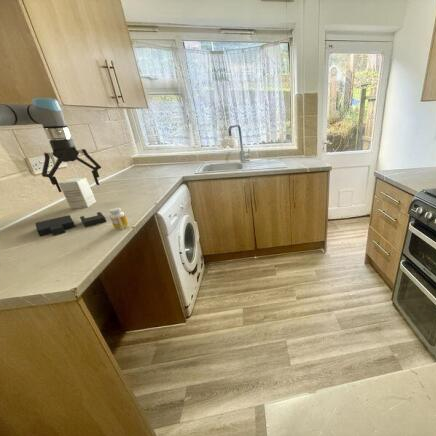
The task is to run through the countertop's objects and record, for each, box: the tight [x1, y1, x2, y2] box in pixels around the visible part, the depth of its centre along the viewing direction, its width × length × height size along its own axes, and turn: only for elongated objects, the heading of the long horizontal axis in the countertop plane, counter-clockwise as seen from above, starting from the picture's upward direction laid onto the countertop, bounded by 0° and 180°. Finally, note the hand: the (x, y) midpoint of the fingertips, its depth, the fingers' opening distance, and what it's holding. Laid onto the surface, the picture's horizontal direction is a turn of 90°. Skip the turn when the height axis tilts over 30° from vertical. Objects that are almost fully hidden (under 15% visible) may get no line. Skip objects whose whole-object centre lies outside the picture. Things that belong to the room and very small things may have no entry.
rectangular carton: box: [58, 177, 97, 210], centre depth 135 cm, size 9×9×15 cm
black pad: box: [79, 211, 107, 228], centre depth 115 cm, size 10×8×3 cm
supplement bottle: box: [109, 207, 130, 231], centre depth 107 cm, size 5×5×10 cm
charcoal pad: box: [35, 214, 76, 237], centre depth 109 cm, size 16×12×3 cm
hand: (79, 188), depth 110 cm, fingers open, 13 cm apart
